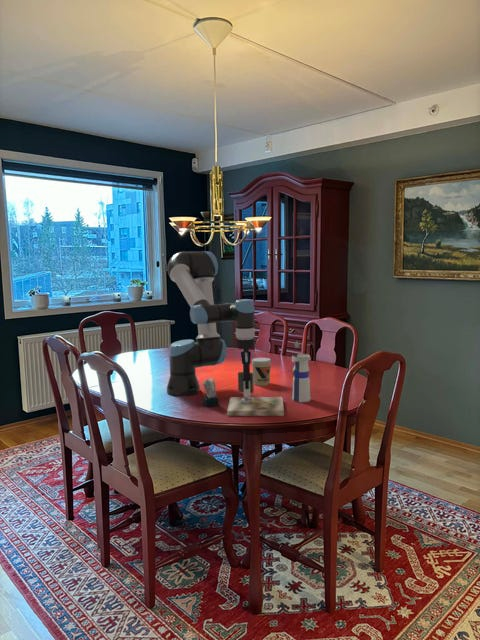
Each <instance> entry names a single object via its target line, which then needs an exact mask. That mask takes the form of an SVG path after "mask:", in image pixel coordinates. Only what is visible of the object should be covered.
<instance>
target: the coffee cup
mask: <svg viewBox="0 0 480 640" xmlns="http://www.w3.org/2000/svg"><path fill="white" fill-rule="evenodd" d="M271 363H272V360H271V358H270V357H269V358H268V357H255V358H253V359H252V360H251V364H252V365H251V367H252V373H253V379H254V386H259V387H260V386H261V387H264V386H269V385H270V382H271V367H272V364H271Z"/></svg>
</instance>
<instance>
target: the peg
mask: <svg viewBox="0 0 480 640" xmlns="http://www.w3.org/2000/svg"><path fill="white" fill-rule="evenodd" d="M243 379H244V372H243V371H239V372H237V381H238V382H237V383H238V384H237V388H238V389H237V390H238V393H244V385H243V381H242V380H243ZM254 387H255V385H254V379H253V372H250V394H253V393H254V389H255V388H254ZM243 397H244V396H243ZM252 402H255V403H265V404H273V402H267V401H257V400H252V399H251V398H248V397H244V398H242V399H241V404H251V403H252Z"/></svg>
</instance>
